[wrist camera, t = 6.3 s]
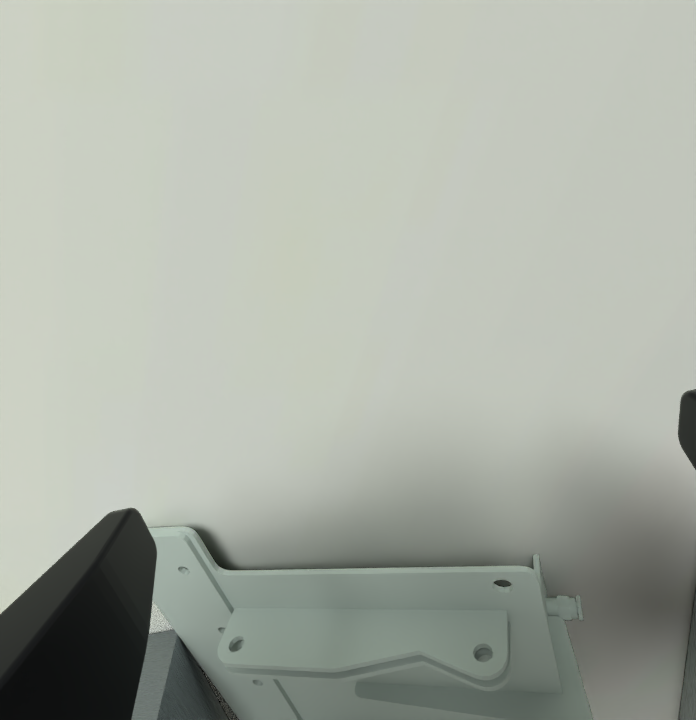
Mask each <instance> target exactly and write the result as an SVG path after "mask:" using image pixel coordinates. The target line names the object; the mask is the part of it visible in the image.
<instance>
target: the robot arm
mask: <svg viewBox="0 0 696 720" xmlns="http://www.w3.org/2000/svg"><path fill="white" fill-rule="evenodd" d="M678 438H679V442H680V444H681V447H682V449H683V450H684V452H685V454H686V455H687V457H688V458H689V460H690V462H691V463H692V465H693V466H694V468H695V470H696V389H694V390H690V391H687V392H685V393H684V394H683V395H682V397H681V402H680V414H679V426H678ZM156 561H157V548H156V544H155V541H154V539H153V537H152V535H151V533H150V531H149V529H148V528H147V526H146V524H145V522H144V520H143V518H142V516H141V514H140V513H139V511H138V510H136V509H135V508H127V509H122V510H117V511H113V512H110V513H109V514H107V515H106V516H105V517H104V518H103V519H102V520H101V521H100V522H99V523H98V524H97V525H95V526H94V527H93V528H92V529H91V530H90V531H89V532H88V533H87V534H86V535H85V536H84V537H83V538H82V539H80V540H79V541H78V542H77V543H76V544H75V545H74V546H73V547H72V548H71V549H70V550H69V551H68V552H67V553H65V554H64V555H63V556H62V557H61V558H60V559H59V560H58V561H57V562H56V563H55V564H54V565H53V566H52V567H50V568H49V569H48V570H47V571H46V572H45V573H44V574H43V575H42V576H41V577H40V578H39V579H38V580H37V581H36V582H34V583H33V584H32V585H31V586H30V587H29V588H28V589H27V590H26V591H25V592H24V593H23V594H22V595H21V596H19V597H18V598H17V599H16V600H15V601H14V602H13V603H12V604H11V605H10V606H9V607H8V608H7V609H6V610H4V611H3V612H2V613H1V614H0V720H131V719H132V714H133V710H134V705H135V700H136V696H137V691H138V687H139V682H140V677H141V673H142V668H143V663H144V659H145V653H146V648H147V643H148V635H149V628H150V618H151V609H152V599H153V590H154V580H155V571H156Z"/></svg>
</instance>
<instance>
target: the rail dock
mask: <svg viewBox="0 0 696 720" xmlns="http://www.w3.org/2000/svg"><path fill="white" fill-rule="evenodd" d="M131 720H229V719H228V717H227V715H226V714H225V712H224V710H223V708H222V706H221V705H220V703H219V701H218V699H217V697H216V696H215V694H214V692H213V690H212V688H211V687H210V685H209V683H208V681H207V679H206V677H205V676H204V674H203V672H202V670H201V668H200V667H199V665H198V663H197V661H196V659H195V658H194V657H193V655H192V654H191V652H190V651H189V650H188V648H187V647H186V645H185V644H184V643H183V641H182V640H181V639H180V637H179V636H178V634H177V633H176V632H175V630H169V631H164V632H159V633H154V634H149V635H148V643H147V648H146V653H145V659H144V663H143V668H142V673H141V677H140V682H139V687H138V691H137V696H136V700H135V705H134V710H133V714H132V719H131ZM679 720H696V591H695V599H694V607H693V614H692V622H691V630H690V637H689V645H688V653H687V660H686V668H685V676H684V684H683V691H682V699H681V707H680V714H679Z"/></svg>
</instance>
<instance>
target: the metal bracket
mask: <svg viewBox="0 0 696 720" xmlns="http://www.w3.org/2000/svg"><path fill="white" fill-rule="evenodd" d="M148 529H149V531H150V533H151V535H152V537H153V539H154V541H155V544H156V548H157V561H156V571H155V580H154V590H153V599H152V600H153V601H154V602H155V604H156V605H157V607H158V608H159V609H160V611H161V612H162V614H163V615H164V616H165V618H166V619H167V620H168V622H169V623H170V625H171V626H172V627H173V629H174V630H175V632H176V633H177V634H178V636H179V637H180V639H181V640H182V641H183V643H184V644H185V645H186V647H187V648H188V650H189V651H190V652H191V654H192V655H193V657H194V658H195V659H196V661H197V662H198V663H199V665H200V666H201V668H202V669H203V670H204V672H205V673H206V675H207V676H208V677H209V679H210V680H211V681H212V683H213V684H214V686H215V687H216V688H217V690H218V691H219V693H220V694H221V695H222V697H223V698H224V699H225V701H226V702H227V704H228V705H229V706H230V708H231V709H232V711H233V712H234V713H235V715H236V716H237V717H238V719H239V720H593V717H592V713H591V710H590V707H589V703H588V700H587V696H586V693H585V689H584V686H583V683H582V679H581V676H580V672H579V669H578V665H577V662H576V659H575V655H574V652H573V648H572V645H571V641H570V638H569V635H568V631H567V628H566V624H565V622H564V620H570V621H572V619H578V615H579V620H580V621H584V620H583V613H582V606H581V599H580V596H576V599H575V598H569V597H568V596H557V598H548V597H547V592H546V587H545V583H544V578H543V573H542V572H541V564H540V559H539V554H537V555H533V564H534V570H533V569H532V568H530V567H527V566H466V567H408V568H349V569H291V570H233V571H230V570H225V569H223V568H221V567H219V566H218V565H217V564H216V563H215V561H214V560H213V558H212V556H211V555H210V553H209V551H208V550H207V548H206V546H205V545H204V543H203V542H202V540H201V538H200V537H199V535H198V534H197V532H196V531H194V530H193V529H192V528H189V527H185V526H179V527H159V528H148ZM186 568H187V569H186ZM496 580H507V581H508V582H510V583H512V585H510V586H508V587H500V586H497V585H496V584H494V582H495V581H496ZM576 600H577V601H576Z"/></svg>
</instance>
